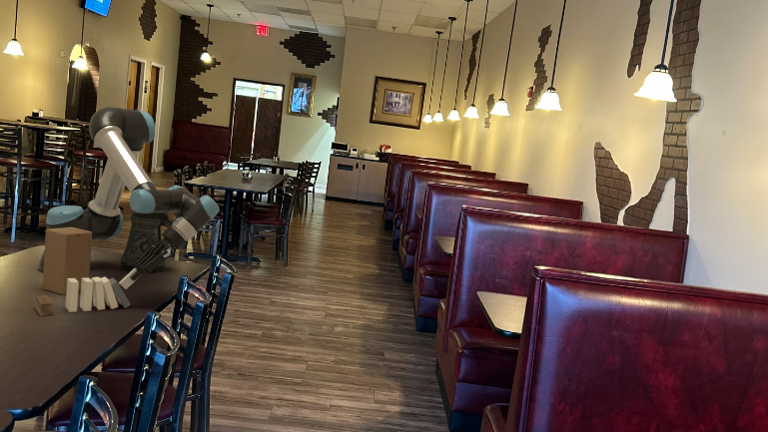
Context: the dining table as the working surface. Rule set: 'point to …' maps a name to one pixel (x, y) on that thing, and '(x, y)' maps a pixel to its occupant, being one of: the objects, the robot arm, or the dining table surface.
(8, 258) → the dining table surface
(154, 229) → the beer stein
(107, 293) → the domino
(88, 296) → the domino
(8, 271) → the dining table surface
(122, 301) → the domino
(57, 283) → the wooden block
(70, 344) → the dining table surface
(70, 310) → the domino
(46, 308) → the end block
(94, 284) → the domino
